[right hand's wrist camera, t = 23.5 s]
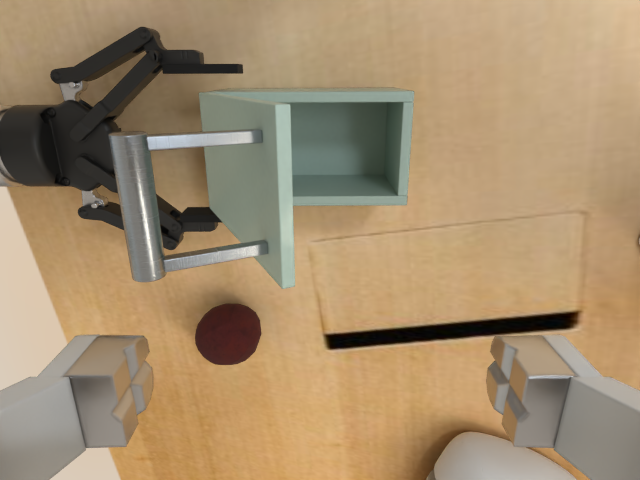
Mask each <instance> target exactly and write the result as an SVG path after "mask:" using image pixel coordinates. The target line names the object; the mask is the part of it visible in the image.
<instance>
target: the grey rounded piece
mask: <svg viewBox="0 0 640 480" xmlns="http://www.w3.org/2000/svg"><path fill="white" fill-rule="evenodd" d="M426 480H577V479H576V478H575V477H574V476H573V475H572V474H571V473H569V472H568V471H567V470H565V469H564V468H563V467H561V466H560V465H558V464H557V463H555V462H553V461H552V460H550V459H548V458H547V457H545V456H543V455H541V454H539V453H537V452H535V451H533V450H531V449H528V448H526V447H514V446H513V444H512V442H511V441H508V440H505V439H502V438H499V437H496V436H492V435H489V434H485V433H479V432H464V433H461V434H459V435H457V436H456V437H455V438H453V439H452V440H451V442H450V443H449V444H448V445H447V446H446V448H445V449H444V450H443V452H442V454H441V455H440V457H439V458H438V460H437V462H436V463H435V466H434V469H433V470H432V471H431V472H430V473H429V475H428V477H427V478H426Z"/></svg>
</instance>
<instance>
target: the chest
mask: <svg viewBox="0 0 640 480" xmlns="http://www.w3.org/2000/svg"><path fill="white" fill-rule="evenodd" d="M209 93H216V94H223V95H230V96H237V97H244V98H251V99H258V100H265V101H272V102H279V103H286V104H290V114H291V151H292V188H293V206H337V205H407V194H408V179H409V164H410V149H411V134H412V119H413V104H414V103H413V101H414V91H410V90H404V89H399V88H236V89H223V90H216V91H210V92H209Z"/></svg>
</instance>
